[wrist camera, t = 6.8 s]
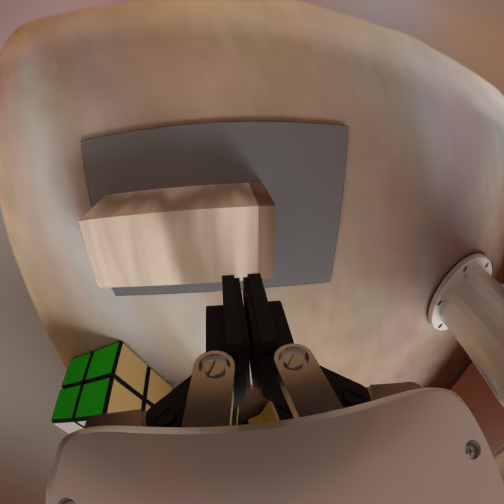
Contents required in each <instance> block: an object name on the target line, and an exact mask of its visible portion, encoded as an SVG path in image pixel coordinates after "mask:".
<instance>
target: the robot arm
mask: <svg viewBox="0 0 504 504" xmlns="http://www.w3.org/2000/svg"><path fill="white" fill-rule="evenodd" d="M491 274H492V266H491V262H490V260H489V259H488V258H487V257H486V256H484V255H483V254H480V253H477V254H472V255H470V256H468V257H466V258H465V259H463V260H462V261H460V262H459V263H458V264H457V265H456V266H455V267H454V268H453V269H452V270H451V271H450V272H449V273H448V274H447V276H446V277H445V278H444V279H443V281H442V282H441V284H440V285H439V287H438V289H437V290H436V292H435V294H434V296H433V298H432V301H431V304H430V307H429V312H428V319H429V322H430V324H431V325H432V326H433V327H434V328H435V329H436V330H447V329H449V330H450V332H451V333H452V334H453V335H454V337H455V338H456V339H457V341H458V342H459V343H460V345H461V346H462V347H463V349H464V350H465V351H466V353H467V354H468V356H469V357H470V358H471V360H472V361H473V363H474V364H475V365H476V367H477V368H478V370H479V371H480V373H481V374H482V376H483V377H484V379H485V380H486V382H487V383H488V385H489V386H490V388H491V389H492V391H493V392H494V394H495V396H496V397H497V399H498V400H499V402H500V403H501V405H502V406H503V407H504V284H503V283H501V284H500V283H498V282H497V281H496V280H495V279H494V278H493V277H492V276H491ZM222 289H223V305H218V306H206V352H205V353H203V354H202V355H200V356H199V357H198V358H197V359H196V361H195V364H194V368H193V372H192V375H191V376H190V377H188V378H187V379H186V380H185V381H183V382H182V383H181V384H180V385H178V386H177V387H176V388H175V389H173V390H172V391H171V392H169V393H168V394H167V395H166V396H164V397H163V398H162V399H160V400H159V401H158V402H156V403H155V404H154V405H152V406H151V407H150V408H149V409H148V410H145V411H141V410H140V409H137V410H130V411H122V412H114V413H105V414H97V415H93V416H91V417H90V418H88V419H87V421H86V423H85V426H84V429H80V430H77V431H74V432H72V433H70V434H68V435H67V436H65V437H64V438H63V439H62V440H61V442H60V443H59V445H58V447H57V449H56V452H55V455H54V458H53V461H52V465H51V469H50V475H49V481H48V487H47V496H46V504H504V445H503V446H502V447H501V448H500V449H499V450H497V451H496V452H495V453H494V454H492V452H491V450H490V448H489V446H488V444H487V441H486V439H485V437H484V435H483V433H482V431H481V429H480V427H479V426H478V424H477V422H476V420H475V418H474V417H473V415H472V413H471V412H470V410H469V409H468V407H467V406H466V405H465V403H464V402H463V400H462V399H461V398H460V397H459V396H458V395H457V394H455V393H454V392H452V391H450V390H447V389H442V388H422V387H421V386H420V385H419V384H417V383H415V382H402V383H391V384H376V385H370V386H369V387H364V386H362V385H361V384H359V383H356V382H354V381H352V380H350V379H348V378H345V377H343V376H341V375H339V374H337V373H335V372H332V371H330V370H328V369H326V368H324V367H322V366H320V365H319V364H318V362H317V361H316V359H315V357H314V355H313V354H312V352H311V351H310V350H309V349H308V348H307V347H305V346H303V345H300V344H294V342H293V338H292V335H291V332H290V329H289V326H288V323H287V319H286V316H285V313H284V310H283V307H282V304H281V301H270V302H268V301H267V297H266V293H265V289H264V285H263V282H262V278H261V274H260V273H252V274H248V275H247V277H243V300H244V306H243V300H242V293H241V286H240V279H239V278H234V275H222ZM249 361H250V368H251V374H252V380H253V387H254V388H259V393H260V395H262V396H263V397H264V398H266V399H268V400H269V401H270V404H271V407H272V410H273V412H274V415H275V417H276V420H277V421H273V422H265V423H257V424H247V425H237V424H238V410H239V408H238V406H239V405H240V404H241V403H242V402H243V401H244V400H245V399H246V389H250V368H249Z"/></svg>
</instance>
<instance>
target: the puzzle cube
mask: <svg viewBox="0 0 504 504" xmlns="http://www.w3.org/2000/svg"><path fill="white" fill-rule="evenodd" d="M62 388H63V389H62V390H60V393H59V396H58V399H57V402H56V406H55V409H54V413H53V416H52V422H53V424H55V425H56V426H58V427H59V428H61V429H62V430H64V431H66V432H67V433H69V434H70V433H72V432H74V431H77V430H80V429H84V426H85V423H86V421H87V419H88V418H90V417H91V416H93V415H97V414H105V413H114V412H122V411H130V410H137V409H140V410H141V411H145V410H148V409H149V408H150V407H151V406H152V405H154V404H155V403H156V402H158V401H159V400H160V399H162V398H163V397H164V396H166V395H167V394H168V393H169V392H171V391H172V386H171V385H170V384H169V383H167V382H166V381H165V380H164V379H163V378H161V377H160V376H159V375H158V374H157V373H156V372H154V371H153V370H152V369H151V368H150V367H147V364H146V363H144V362H143V361H142V360H141V359H140V358H139V357H138V356H137V355H136V354H135V353H134V352H133V351H131V350H130V349H129V348H128V347H127V346H126V345H125V344H124V343H123V342H122V341H120V342H117V343H114V344H112V345H109V346H106V347H104V348H101V349H98V350H95V351H94V352H90V353H87V354H85V355H82V356H79V357H76V358H74V359H71V361H70V364H69V367H68V370H67V372H66V375H65V378H64V381H63V384H62Z"/></svg>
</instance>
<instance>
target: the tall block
mask: <svg viewBox="0 0 504 504" xmlns="http://www.w3.org/2000/svg"><path fill="white" fill-rule="evenodd" d="M275 218H276V205H275V203H274V201H273V200H272V198H271V196H270V194H269V193H268V191H267V189H266V188H265V186H264V184H263V183H262V182H259V183H233V184H215V185H199V186H186V187H174V188H163V189H152V190H143V191H134V192H126V193H117V194H110V195H105V196H104V197H103V198H102V199H101V200H100V201H98V202H97V203H96V204H95V205H94V206H93V207H92V208H91V209H90V210H89V211H88V212H87V213H86V214H85V215H84V216H83V217H82V218H81V219H80V220H79V225H80V229H81V233H82V236H83V240H84V244H85V247H86V251H87V254H88V257H89V261H90V264H91V267H92V270H93V273H94V276H95V279H96V282H97V285H98V288H111V287H138V286H160V285H180V284H198V283H214V282H222V275H234V278H239V279H240V281H243V277H247V275H248V274H252V273H260V274H261V278H262V279H271V278H273V270H274V246H275Z"/></svg>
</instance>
